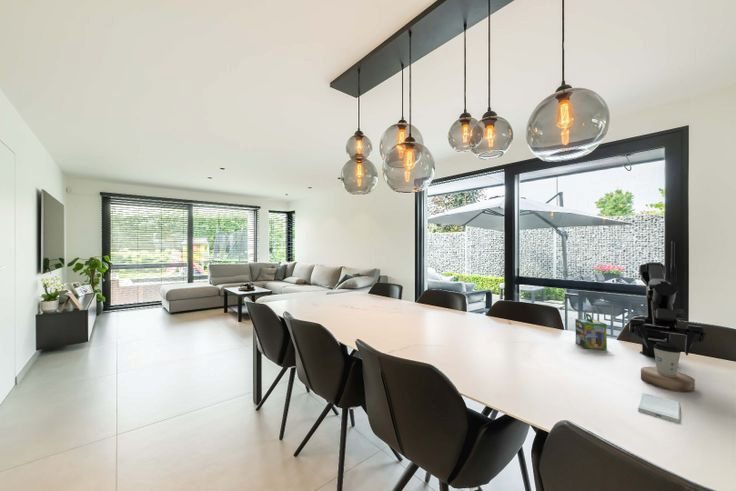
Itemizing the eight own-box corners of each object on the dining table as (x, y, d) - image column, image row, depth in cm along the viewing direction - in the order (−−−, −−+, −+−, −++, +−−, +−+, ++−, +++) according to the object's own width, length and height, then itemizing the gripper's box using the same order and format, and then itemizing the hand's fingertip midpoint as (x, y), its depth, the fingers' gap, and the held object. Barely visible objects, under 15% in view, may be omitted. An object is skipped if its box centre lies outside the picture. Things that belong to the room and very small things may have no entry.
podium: (666, 375, 110) (666, 366, 110) (707, 392, 97) (707, 383, 97) (630, 374, 110) (630, 366, 110) (666, 392, 97) (666, 382, 97)
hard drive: (641, 392, 95) (638, 407, 86) (679, 402, 89) (679, 418, 80) (641, 397, 95) (638, 413, 86) (679, 407, 89) (679, 425, 80)
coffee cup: (680, 374, 104) (681, 344, 104) (681, 380, 99) (682, 349, 99) (652, 368, 108) (652, 340, 108) (652, 374, 103) (652, 344, 103)
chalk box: (607, 350, 136) (607, 316, 136) (584, 348, 138) (584, 315, 138) (596, 343, 145) (596, 312, 145) (574, 342, 147) (574, 311, 147)
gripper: (630, 296, 112) (632, 333, 103) (704, 302, 101) (713, 344, 92) (628, 314, 118) (630, 350, 110) (698, 321, 107) (706, 362, 98)
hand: (667, 351), depth 102 cm, fingers open, 9 cm apart
